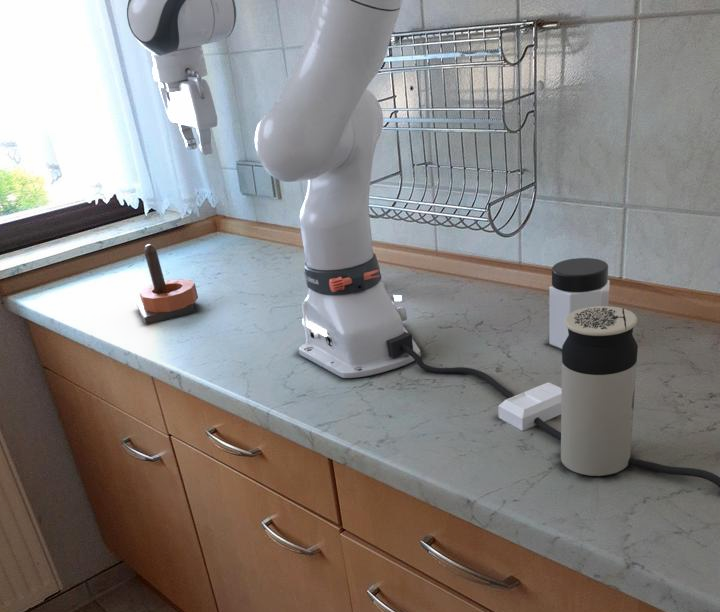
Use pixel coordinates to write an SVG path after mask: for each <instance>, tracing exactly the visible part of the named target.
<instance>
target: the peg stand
mask: <svg viewBox="0 0 720 612" xmlns="http://www.w3.org/2000/svg"><path fill="white" fill-rule="evenodd" d="M143 253H144V257H145V261H146V263H147V269H148V271H149V276H150V279H151V283H152V285H153V287H154V290H155V294H165V293H168V292H167V288H166V284H165V281H166V280H165V277H164V274H163V270H162V266H161V262H160V258H159V255H158V251H157V248H156V246H155V245H153V244H151V243H148V244H146V245H145V246H144V248H143ZM136 307H137V311H138V312H139V314H140V316H141V318H142V319H143V322H144V323H145V325H151V324H154V323H159V322H162V321H166V320H169V319H174V318H178V317H182V316H186V315H190V314H194V313H196V309H195V306H194V303H193V304H191V305H189V306H187V307H185V308H182V309H178V310H174V311H170V312H161V313H155V312H148V311H146V310H145V309H144V307H143V304H142V301H141V302H136Z"/></svg>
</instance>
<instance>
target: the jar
mask: <svg viewBox="0 0 720 612" xmlns="http://www.w3.org/2000/svg"><path fill="white" fill-rule="evenodd" d="M608 275H609V264H608V263H607V262H606V261H604V260H602V259H598V258H592V257H577V258H569V259H565V260H564V259H563V260H561V261H558V262H556V263H555V264H553V266H552V267H551V285H550V286H549V291H548V292H549V293H548V294H549V295H548V296H549V297H548V298H549V299H548V300H549V301H548V302H549V303H548V304H549V305H548V306H549V309H548V310H549V311H548V313H549V317H548V318H549V319H548V321H549V323H548V328H549V330H548V331H549V332H548V335H549V336H548V338H549V340H548V343H549V345H550V346H553V347H556V348H558V349H560V350H562V346H563V344H564V342H565V340H566V339H567V337H568V335H569V334H568V328H567V327H566V325H565V319H566V317H567V316H568V315H569V314H570V313H572V312H574V311H576V310H579V309H583V308H588V307H595V306H610V305H609V304H610V283H611V281H610V279H609V276H608Z"/></svg>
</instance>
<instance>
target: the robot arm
mask: <svg viewBox="0 0 720 612" xmlns="http://www.w3.org/2000/svg"><path fill="white" fill-rule="evenodd" d="M403 2H404V1H403V0H315V1H314V5H313V9H312V14H311V17H310V21H309V25H308V28H307V32H306V34H305V38H304V41H303V43H302V45H301V48H300V50H299V53H298V54H297V57H296V59H295V61H294V63H293V65H292V68H291V69H290V72H289V74H288V76H287V78H286V80H285V82H284V84H283V86H282V88H281V90H280V92H279V94H278V96H277V98H276V100H275V101H274V103H272V105H271V107H270V108H269V109H268V111H267V112H266V113H265V114H264V116H262V118H261V119H260V120H259V122H258V123H257V126H256V129H255V133H254V147H255V148H254V149H255V153H256V155H257V158H258V161H259V163H260V164H261V166H262V167H263V169H264V170H265V171H266V172H267V173H268V174H269V175H270V176H271V177H272V178H273V179H276V180H278V181H281V182H284V183H294V182H304V181H305V182H306V181H307V187H306V194H305V198H304V201H303V203H302V205H301V207H300V210H299V218H298V221H299V227H300V234H301V239H302V240H301V241H302V245H303V252H304V258H305V263H304V265H303V267H304V278H305V282H306V287H307V288H308V291H307V294H306V297H305V298H304V300H303V302H302V303H301V310H302V312H301V313H302V319H301V320H302V325H303V329H304V337H305V342H304V343H302V344H301V345H300V346H299V347H298V354H299V355H300V356H301V357H303V358H305V359H307V360H309V361H311V362H313V363H314V364H316V365H318V366H319V367H321V368H323V369H325V370H327V371H329V372H330V373H332V374H334V375H337V376H338V377H340V378H342V379H355V378H363V377H369V376H374V375H377V374H381V373H385V372H388V371H392V370H395V369H398V368H401V367H403V366H406V365H408V364H410V363H411V364H412V363H413V362H416V364H417V366H418V367H419V368H420V369H422V370H423V371H426V372H428V373H431V374H440V375H448V374H468V375H471V376H474V377H477V378H480V379H482V380H483V381H485V382H486V383H487V384H489V385H490V386H492V387H493V388H494V389H495V390H496V391H498V392H499V393H500V394H502V395H503V396H504V397H505V398H506V399H508V398H511V397H513V396H515V395H514V394H513V393H512V392H511V391H510V390H509V389H508V388H507V387H505V386H504V385H502V384H500V382H498V381H497V380H496V379H494V378H493V377H492V376H490V375H489V374H487V373H485V372H483V371H481V370H478V369H475V368H472V367H471V368H470V367H462V366H459V367H435V366H431V365H428V364H426V363H425V362H424V361H423V359H422V358H421V357H422V353H421V350H420V348H419V346H418V344H417V343H416V341H414V339H413V334H412V333H409V332H408V330H407V329H406V327H405V326H404V325H403V322H406V321H407V319H408V316H407V310H406V308H405V306H400V307H396V305H395V302H401V301H402V295H399V294H397V295H396V294H393V293H389V291H388V290H387V287H386V285H385V282H383V281H382V274H381V273H382V272H381V270H380V269H381V268H380V267H381V266H380V263H379V261H378V259H377V254H376V253H375V252H374V247H373V237H372V228H371V216H370V192H371V191H370V189H371V180H372V170H373V164H374V163H373V162H374V155H375V150H376V146H377V143H378V141H379V138H380V136H381V134H382V131H383V126H384V114H383V109H382V107H381V104H380V101H379V100H378V98H377V97H376V96H375V95H374V94H373V93H372V92H371V91H370V90H369V89H367V88H368V86H369V85H370V83H371V82H372V81H373V79H374V78H375V77H376V75H378V73H379V71H380V70H381V68H382V67H383V63H384V61H385V58H386V55H387V52H388V49H389V45H390V42H391V39H392V35H393V33H394V29H395V27H396V23H397V20H398V17H399V14H400V11H401V7H402V4H403ZM126 18H127V19H126V20H127V24H128V27H129V29H130V31H131V33H132V35H133V37H134V38H135V40H136V41H137V42H138V43H139V44H140V45H141V46H142V47H144V49H146V50H147V51H149V52H150V53H151V58H152V62H153V66H152V71H151V72H152V76H153V81H154V82H156V83H157V82H158V88H159V92H160V95H161V98H162V99H161V100H162V102H163V106H164V109H165V112H166V114H167V117H168V119H169V121H170V122H171V123H173V124H176V125H178V129H179V131H180V133H181V136H182V138H183V140H184V144H185V148H186V149H187V150H192V151H193V150H196V149H197V148H198V147H199V150H200V153H201V154H202V155H204V156H208V155H211V154H212V153H213V147H212V130H211V129H212V128H215V127H217V126H218V116H217V115H218V114H217V111H216V106H215V102H214V99H213V95H212V91H211V87H210V84H209V83H208V81H207V80H206V79H203V78H204V77H206V76H208V69H207V65H206V60H205V55H204V50H203V45H207V44H213V43H217V42H221V41H222V40H225V39H227V38H229V37H230V36H231V34H232V33H233V31H234V29H235V26H236V23H237V7H236V1H235V0H128V2H127V6H126ZM193 129H195V130H196V134H197V135H198V139H199V144H197V138H195V135H194V131H193ZM534 423H535V424H536V425H535V426H537V427H538V428H539V429H541V430H542V431H543V432H545V433H547V435H550V436H551V437H552V438H555V439H557V440H558V441H560V442H561V431H559V430H557V429H555V428H554V427H553V426H551V425H549V424H548V423H547V422H546V421H545V422H543V421H542V420H541V419H540V418H538V417H537V418H535V420H534ZM628 466H631V467H636V468H641V469H646V470H649V471H654V472H657V473H661V474H668V475H676V476H687V477H695V478H699V479H700V478H701V479H704V480H706V481H709V482H711V483H713V484H714V485H715V486H717V487H718V488H719V489H720V476H718V475H717V474H714V473H713V472H711V471H708V470H703V469H700V468H693V467H680V466H671V465H665V464H660V463H656V462H652V461H649V460H648V461H647V460H643V459H639V458H633V457H630V458H629V461H628Z"/></svg>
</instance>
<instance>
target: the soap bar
mask: <svg viewBox="0 0 720 612" xmlns="http://www.w3.org/2000/svg"><path fill="white" fill-rule="evenodd" d="M561 403H562V387H559V386H558V385H555V384H553V383H551V382H546V383H543V384H541V385H538V386H536V387H535V386H534V387H533V388H531V389H528V390H525V391H523V392H521V393H519V394H516V395H514V396H513V397H511V398H506V399H504V401H502V402H501V403H500V404H499V405H498V406H497V408H498V409H497V410H498V411H497V413H498V419H500V420H502V421H504V422H506V423H508V424H509V425H510V426H513V427H515V428H516V429H518V430H519V431H522V432H523V431H526V430H528V429H531V428H533V427H535V426H537V425H536V424H535V423H534V420H535V418H537V417H538V418H540V419H541V420H542V421H543V422H545V423H546V421H549V420H551V419H554V418H556V417H558V416H561Z"/></svg>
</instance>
